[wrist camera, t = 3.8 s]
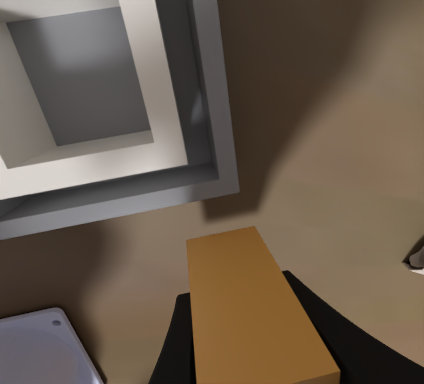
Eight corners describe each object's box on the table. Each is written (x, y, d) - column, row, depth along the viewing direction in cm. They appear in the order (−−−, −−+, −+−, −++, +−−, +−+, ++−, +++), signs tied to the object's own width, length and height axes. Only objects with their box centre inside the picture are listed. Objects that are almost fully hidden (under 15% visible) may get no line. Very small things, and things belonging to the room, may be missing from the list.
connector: (259, 279, 14) (351, 483, 7) (198, 292, 13) (224, 519, 6) (254, 225, 12) (363, 410, 5) (186, 240, 12) (202, 454, 5)
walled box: (225, 169, 14) (245, 201, 10) (30, 206, 13) (-36, 258, 9) (189, -92, 10) (198, -227, 6) (-105, -56, 9) (-343, -180, 5)
